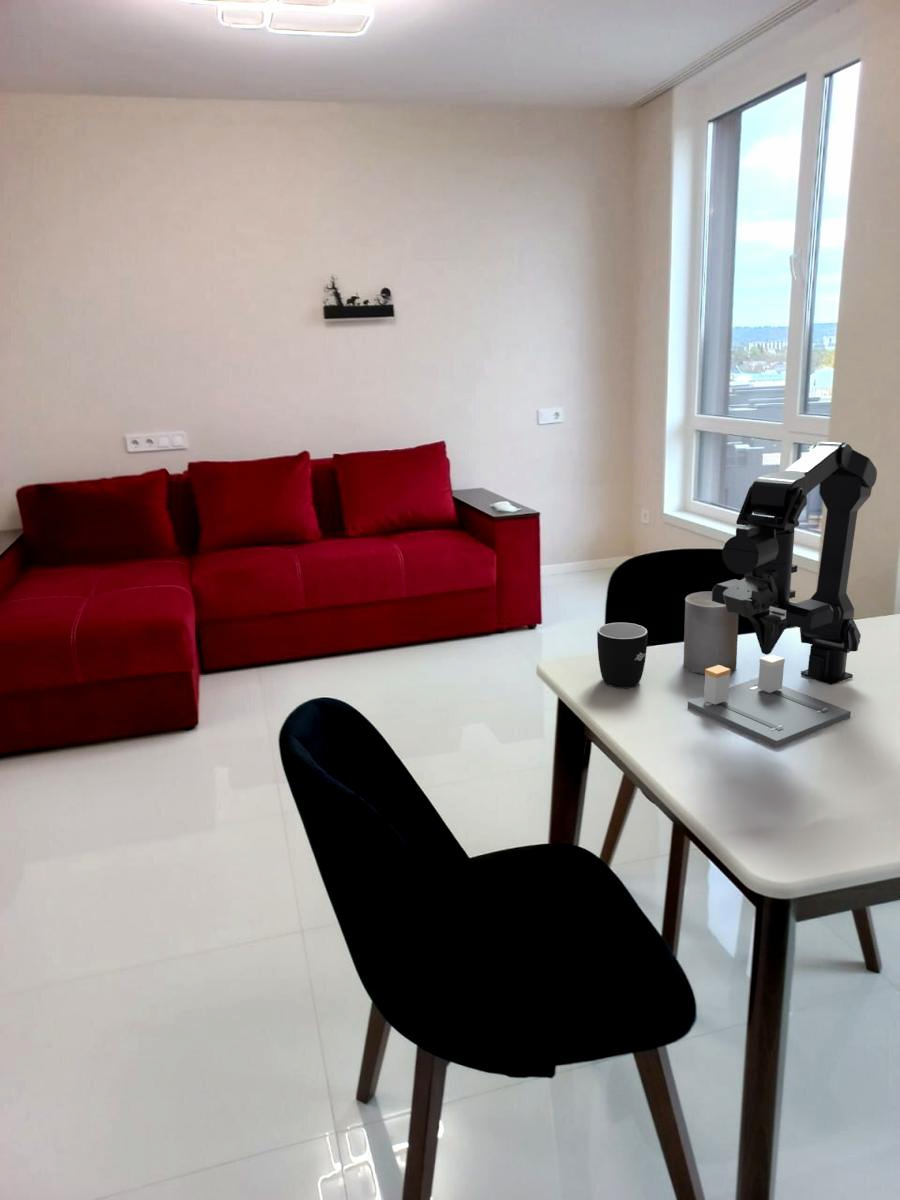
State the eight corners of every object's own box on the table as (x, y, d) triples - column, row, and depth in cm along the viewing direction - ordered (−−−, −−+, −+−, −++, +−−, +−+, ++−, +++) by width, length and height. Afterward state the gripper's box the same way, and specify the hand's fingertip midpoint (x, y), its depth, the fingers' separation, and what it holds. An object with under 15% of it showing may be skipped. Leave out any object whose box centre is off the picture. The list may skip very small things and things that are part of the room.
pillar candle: (721, 655, 162) (724, 582, 157) (745, 673, 152) (749, 596, 148) (675, 660, 160) (676, 587, 156) (695, 678, 151) (698, 601, 147)
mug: (638, 694, 145) (640, 641, 142) (590, 687, 149) (590, 635, 147) (655, 670, 155) (657, 620, 152) (610, 664, 160) (610, 615, 157)
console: (759, 683, 148) (759, 676, 147) (850, 718, 133) (851, 710, 132) (687, 707, 139) (688, 700, 139) (776, 748, 124) (776, 740, 124)
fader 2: (770, 683, 143) (772, 654, 142) (782, 688, 141) (784, 658, 140) (757, 688, 142) (759, 658, 140) (769, 693, 140) (771, 662, 138)
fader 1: (717, 695, 140) (718, 664, 138) (728, 700, 138) (730, 669, 136) (703, 699, 138) (705, 669, 136) (715, 704, 136) (716, 673, 134)
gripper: (689, 557, 130) (686, 648, 134) (789, 582, 114) (781, 684, 119) (737, 545, 135) (733, 633, 139) (839, 568, 119) (830, 666, 124)
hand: (766, 653), depth 130 cm, fingers closed
